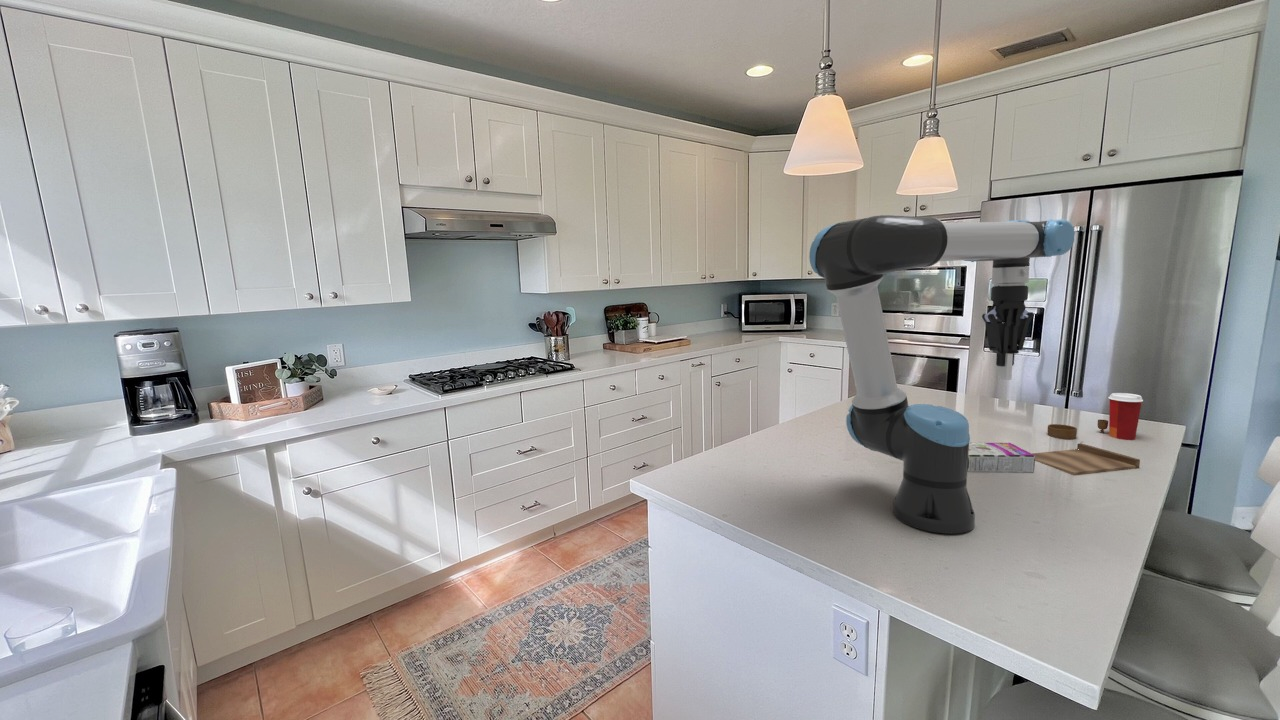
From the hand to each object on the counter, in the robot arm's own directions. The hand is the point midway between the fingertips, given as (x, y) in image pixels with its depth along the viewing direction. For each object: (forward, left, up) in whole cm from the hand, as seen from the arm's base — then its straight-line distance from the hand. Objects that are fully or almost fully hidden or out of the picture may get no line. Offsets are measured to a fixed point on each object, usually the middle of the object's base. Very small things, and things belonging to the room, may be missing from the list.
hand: (1004, 378), depth 131 cm
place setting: (+44, +16, -25) cm, 53 cm away
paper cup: (+56, +13, -25) cm, 62 cm away
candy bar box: (+9, +1, -22) cm, 24 cm away
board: (+24, 0, -24) cm, 34 cm away
